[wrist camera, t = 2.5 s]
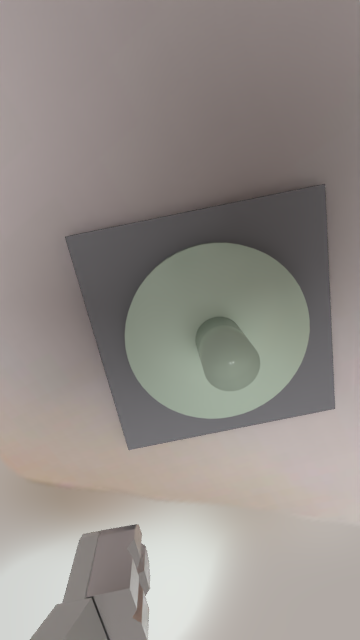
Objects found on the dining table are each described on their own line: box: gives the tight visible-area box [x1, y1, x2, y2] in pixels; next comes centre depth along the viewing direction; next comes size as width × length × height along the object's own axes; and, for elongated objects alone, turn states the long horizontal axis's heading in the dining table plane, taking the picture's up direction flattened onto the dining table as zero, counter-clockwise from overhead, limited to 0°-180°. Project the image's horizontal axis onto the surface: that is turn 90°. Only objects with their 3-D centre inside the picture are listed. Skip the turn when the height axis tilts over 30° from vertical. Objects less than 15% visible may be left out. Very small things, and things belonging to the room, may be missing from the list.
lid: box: [125, 242, 310, 419], centre depth 19 cm, size 12×12×5 cm
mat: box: [65, 184, 335, 450], centre depth 22 cm, size 16×16×1 cm
